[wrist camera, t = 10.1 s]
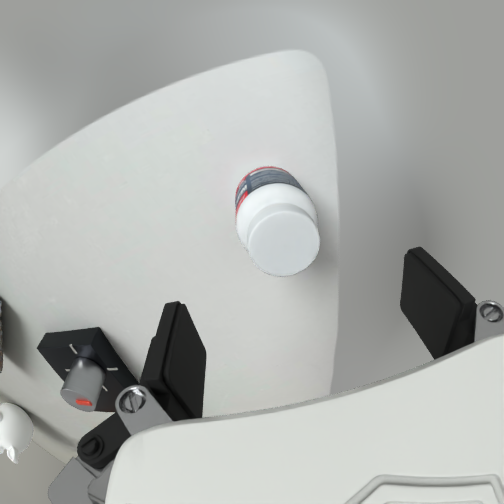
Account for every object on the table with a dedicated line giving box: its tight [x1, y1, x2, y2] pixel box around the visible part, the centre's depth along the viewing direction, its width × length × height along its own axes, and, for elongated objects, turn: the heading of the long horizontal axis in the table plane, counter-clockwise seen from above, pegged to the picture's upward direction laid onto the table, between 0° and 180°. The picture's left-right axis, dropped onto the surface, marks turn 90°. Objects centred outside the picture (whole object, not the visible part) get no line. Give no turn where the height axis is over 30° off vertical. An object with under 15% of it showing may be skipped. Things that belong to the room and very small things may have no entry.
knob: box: [60, 357, 106, 412], centre depth 26 cm, size 4×4×5 cm
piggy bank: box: [0, 403, 34, 463], centre depth 35 cm, size 12×12×15 cm
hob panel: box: [37, 327, 139, 412], centre depth 31 cm, size 14×11×3 cm
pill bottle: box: [235, 166, 320, 277], centre depth 19 cm, size 5×5×9 cm
